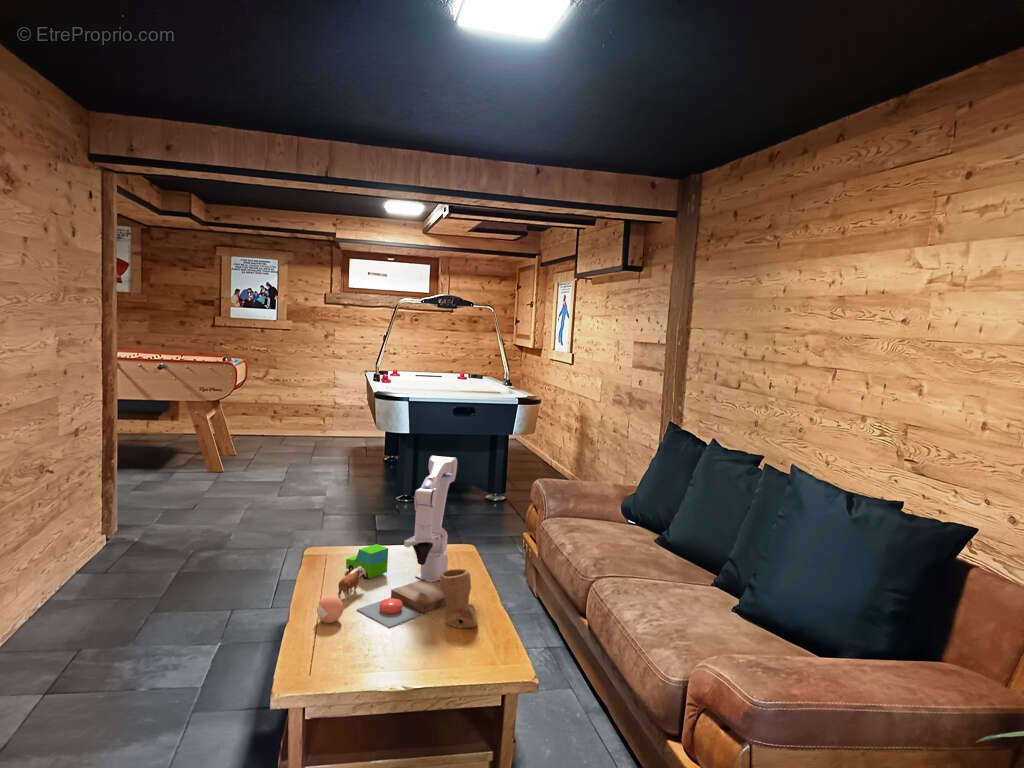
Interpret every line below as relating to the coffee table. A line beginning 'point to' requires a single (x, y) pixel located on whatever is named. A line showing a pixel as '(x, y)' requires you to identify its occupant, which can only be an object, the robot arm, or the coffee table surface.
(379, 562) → the toy car
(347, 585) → the bull figurine
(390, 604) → the red ball
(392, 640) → the coffee table surface
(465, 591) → the brown boot
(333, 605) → the egg
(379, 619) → the mat
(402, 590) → the board
